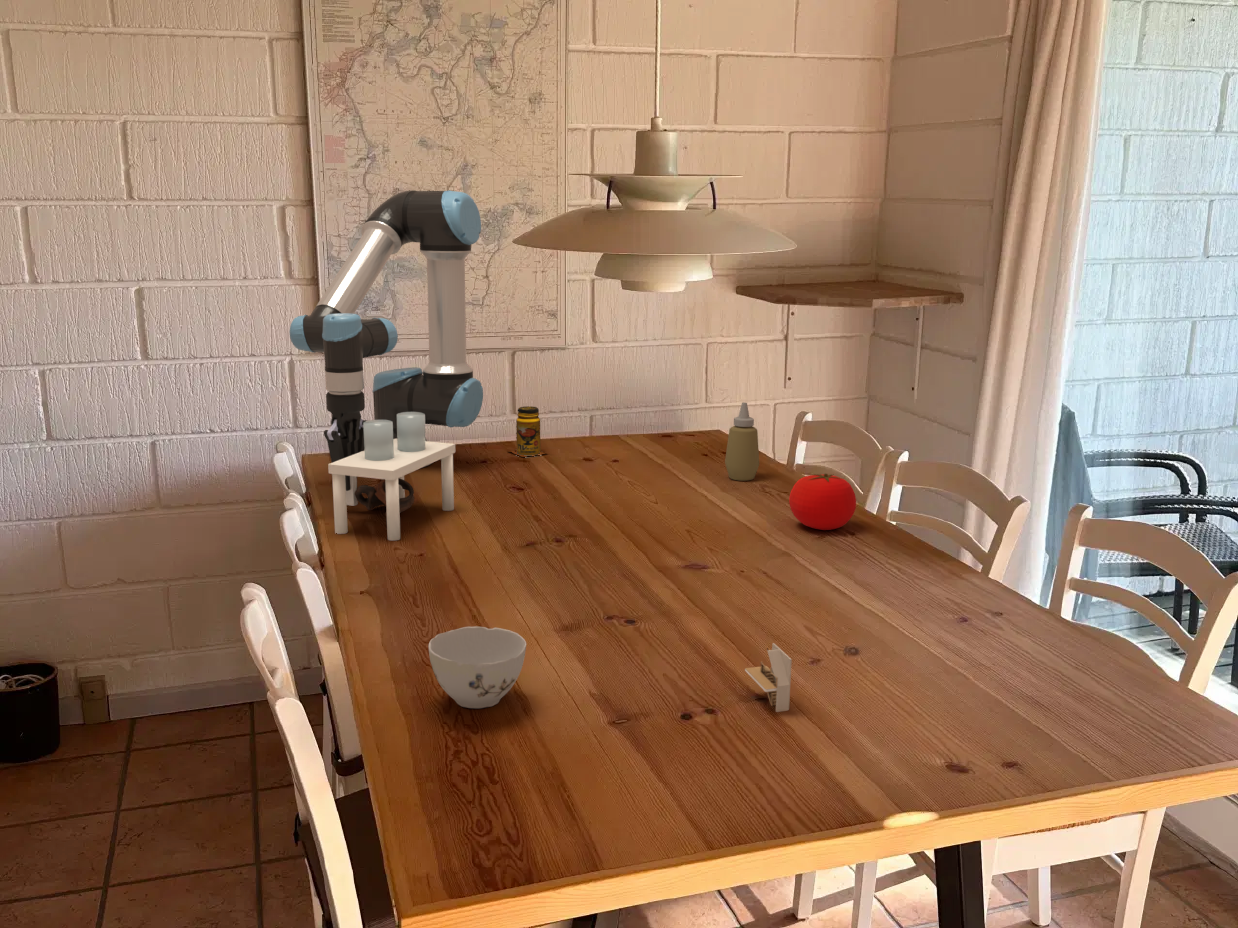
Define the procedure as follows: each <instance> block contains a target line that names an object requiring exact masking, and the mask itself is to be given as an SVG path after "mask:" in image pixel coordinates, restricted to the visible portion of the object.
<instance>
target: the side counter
mask: <svg viewBox="0 0 1238 928" xmlns="http://www.w3.org/2000/svg"><path fill="white" fill-rule="evenodd" d="M393 444H394V458H393V459H390V460H384V461H371V460H366V459H365V453H364V451H362V452H359V453H356V454H354V455H351V456H349V457H346V458H343V459H341V460H338V461H335V462H333V463H332V462H331V463H328V464H327V465H328V474H331V476H332V477H331V479H332V495H333V496H332V498H333V517H334V518H333V519H334V534H336V533H337V534H336V535H345V534H347V533H348V532H349V530H348V527H349V526H348V512H347V511H348V510H347V508H348V507H347V506H348V505H346V483H345V475H348V476H357V478H358V477H360V478H367V479H368V478H369V479H370V478H371V479H377V480H378V479H379V480H383V479H385V484H386V505H385V507H386V512H387V516H386V530H387V531H386V533H387V541H393V542H394V541H399V540H401V517H400V513H401V512H399V498H405V497H406V494H405V489H402V486H401V485H399V484H398V478H400V479H402V480H405V476H406V475H408V474H411V473H413V472H415V471H417V470H419V469H422V468H425V467H424V466H426V465H428V464H430V465H431V464H433V463H434V462H437V461H439V460H440V461H441V462H440V464H441V465H440V468H441V469H440V470H441V501H442V502H441V503H442V505H441V507H442V508H441V509H442V511H445V512H451V511H454V510H455V497H454V496H455V491H454V488H455V487H454V454H455V453H456V443H448V442H437V441H428V440H427V441H425V450H423V451H418V452H404V451H400V450H398V449H397V439H393ZM428 466H429V465H428ZM426 467H427V466H426Z"/></svg>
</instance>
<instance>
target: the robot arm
mask: <svg viewBox="0 0 1238 928" xmlns="http://www.w3.org/2000/svg"><path fill="white" fill-rule="evenodd" d="M481 219H482V218H481V214H480V211H479V207H478V205H477V203H476V202H475V200H474V198H472V196H470V195H469V194H468V193H466V192H463V191H456V190H455V191H454V190H450V189H449V190H416V189H415V190H414V189H413V190H405V191H400V192H398V193H397V194H394V195H392V196H391V197H389V198H388V199H387V200H385V201H383V203H381V204H380V205H378V207H377V208H375V210H374V211H372V213H371V214H370V215H369V216H368V217H367V219H366V220H365V222H364V223H363V224H362V226H361V231H360V232H361V237H360V238H359V239H358V241H357V242H356V244H355V246H354V247H353V248H352V251H351V252H350V254H349V255H348V257H346V259H345V261H344V262H343V264H342V266H341V267H340V269H339V270H338V272H337V273H336V275H335V276H334V277H333V280H332V281H331V282H330V284H329V286H328V287H327V289H326V290H325V292H324V293H323V294H322V297H321V298H320V300H319V301H318V303H316V306H315V308H313V310H312V311H311V312H310V314H309V315H308V314H304V315H298V316H296V317H294V318H293V320H292V321H291V323H290V326H289V338H290V341H291V343H292V345H293V346H294V347H295V348H296V349H297V350H299V351H304V352H311V353H314V354H315V353H323V356H324V357H323V358H324V377H325V380H324V381H325V390H326V391H328V392H327V393H326V394H325V403H326V404H325V405H326V410H327V412H330V414H331V420H330V425H331V426H330V428H329V429H325V430H324V431H323V436H324V439H326V441H327V446H328V452H329V457H330V462H331V463H333V462H335V461H338V460H341V459H343V458H346V457H349V456H351V455H354V454H356V453H359V452H362V451H364V429H363V422H365V421H368V419H367V420H366V419H362V414H361V412H362V411H364V410H365V408H366V405H365V402H366V401H365V393H364V391H363V390H364V389H365V379H364V363H363V362H364V360H363V359H365V358H370V357H375V356H382V355H384V354H386V353H389V352H392V351H393V350H394V349H395V347H396V345H397V343H398V337H399V336H398V335H399V334H398V330H397V327H396V326H395V325H394V323H393V322H392V321H391V320H390V319H387V318H384V317H373V318H368V319H367V318H366V319H365V318H361V316H360V315H359V314H357V313H356V312H357V310H358V308H359V306H360V304H361V303H362V302H363V300H364V298H365V297H366V296H367V294H368V292H369V291H370V289H371V288H372V286H373V284H374V283H375V281H376V280H377V278H378V276H380V273H381V272H382V270H383V269H384V266H385V265H386V263H387V262H388V260H389V259H390V257H391V256H392V255H395V254H397V253H398V252H400V250H401V248H402V247H403V246H404V245H406V244H409V243H419V252H420V253H421V254H422V255H423V256H424V257H425V258H426V271H427V272H426V273H427V274H426V277H427V278H426V280H427V315H428V316H427V317H428V318H427V319H428V320H427V323H428V324H427V325H428V360H429V361H428V363H427V365H425V367H424V368H423V369H422V368H421V367H403V368H393V369H389V370H383V371H379V372H377V373H376V374H375V375H374V376H373V382H372V397H373V399H372V400H373V415H374V417H373V418H374V419H373V420H390V421H392V422H393V439H397V414H398V413H402V412H420V413H424V414H425V425H433V426H434V425H435V426H443V427H448V428H454V427H455V428H465V427H468V426H471V425H472V424H473V423H474V422H475V420H476V419H477V418H478V416H479V414H480V412H481V409H482V405H483V401H484V387H483V386H482V382H481V381H480V380H479V379H477V378H474V369H473V367H471V366H470V365H469V364H468V362H467V330H466V329H467V328H466V327H467V322H466V317H467V316H466V315H467V314H466V269H465V267H466V262H465V261H466V258H467V257H468V256H469V254H471V252H472V245H473V244H476V243H477V242H478V241H479V239H480V234H481V231H482V220H481ZM425 441H428V440H427V437H426V436H425ZM430 465H431V464H428V465H426V466H424V467H423V468H425V467H428V466H430ZM345 483H346V505H347V506H350V507H351V506H357V505H358V504H359V502H358V500H357V499H356V496H355V491H356V490H357V488H358V476H348V475H345Z"/></svg>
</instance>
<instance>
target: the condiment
mask: <svg viewBox="0 0 1238 928" xmlns="http://www.w3.org/2000/svg"><path fill="white" fill-rule="evenodd" d="M539 416H540V411H539V407H537V406H527V405H526V406H521V407H518V408H517V418H516V421H515V423H516V426H515V429H516V433H515V434H516V437H515V438H516V442H515V443H516V450H517V454H519V455H524V456H532V455H538V454H540V451H542V450H541V447H542V446H541V444H542V443H541V419H540V417H539Z"/></svg>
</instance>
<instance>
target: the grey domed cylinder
mask: <svg viewBox="0 0 1238 928" xmlns="http://www.w3.org/2000/svg"><path fill="white" fill-rule="evenodd" d="M425 437H426V424H425V414H424V413H420V412H402V413H398V414H397V449H398V450H400V451H404V452H418V451H423V450H425Z"/></svg>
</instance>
